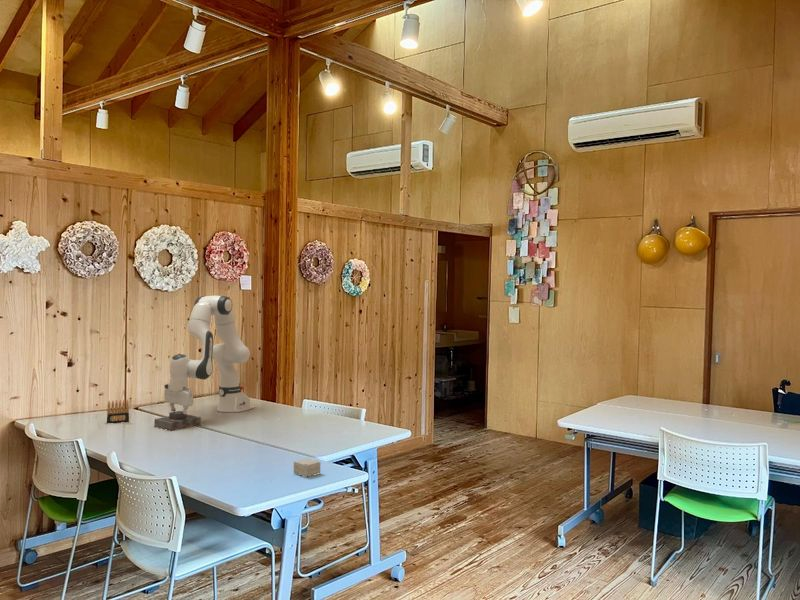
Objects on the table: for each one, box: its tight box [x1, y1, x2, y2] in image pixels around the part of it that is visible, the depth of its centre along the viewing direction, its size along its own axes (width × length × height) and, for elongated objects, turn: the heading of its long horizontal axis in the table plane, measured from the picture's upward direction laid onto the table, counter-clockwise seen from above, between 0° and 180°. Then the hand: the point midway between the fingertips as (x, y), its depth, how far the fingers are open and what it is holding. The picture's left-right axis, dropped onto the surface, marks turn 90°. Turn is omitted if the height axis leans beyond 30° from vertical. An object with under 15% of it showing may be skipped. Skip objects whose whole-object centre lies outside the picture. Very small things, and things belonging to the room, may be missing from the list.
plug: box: [168, 410, 188, 420], centre depth 328 cm, size 6×6×6 cm
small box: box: [293, 458, 321, 478], centre depth 252 cm, size 8×8×5 cm
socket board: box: [153, 413, 202, 432], centre depth 328 cm, size 18×14×5 cm
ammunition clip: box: [106, 399, 130, 424], centre depth 332 cm, size 11×2×12 cm, turn 121°
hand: (178, 412), depth 328 cm, fingers open, 8 cm apart
